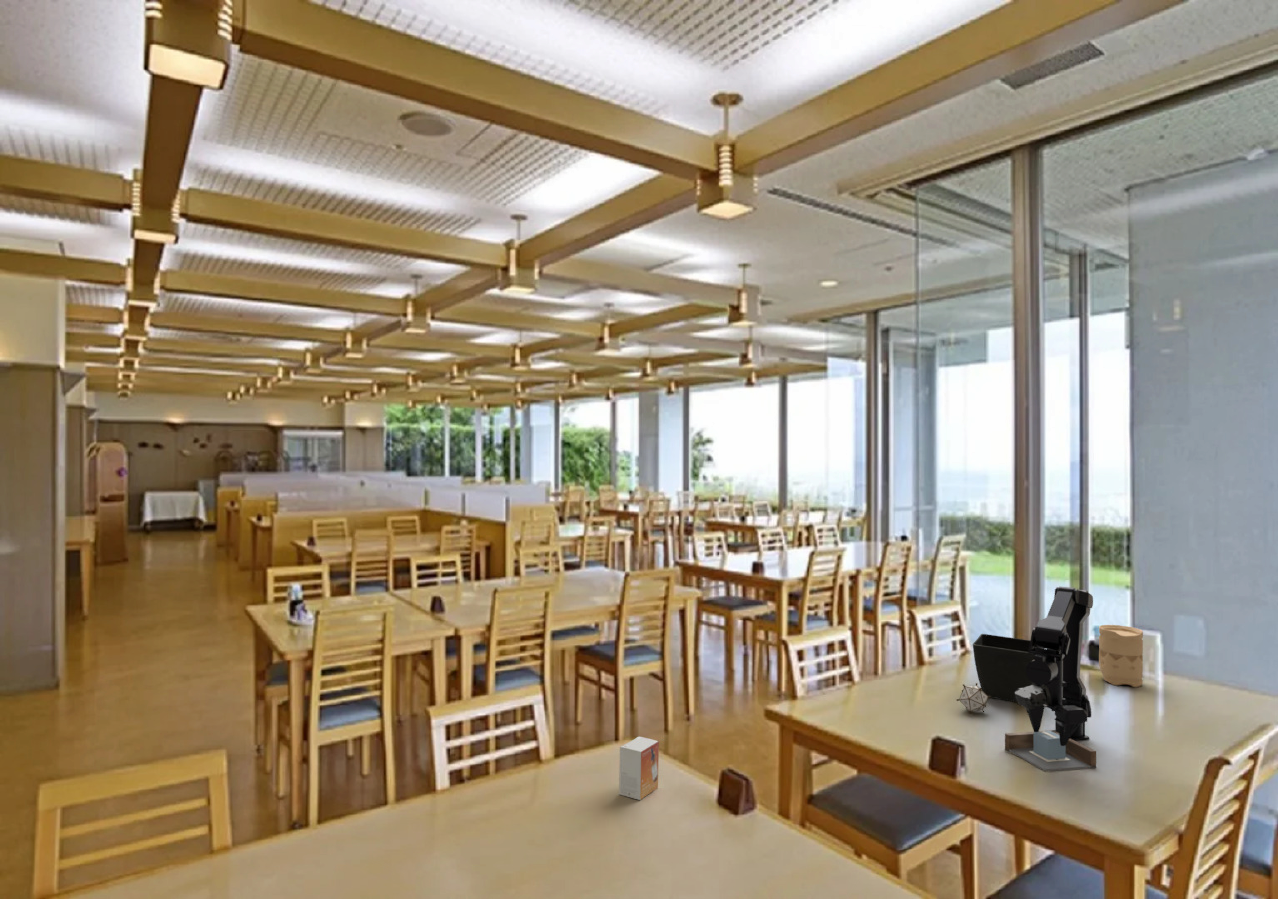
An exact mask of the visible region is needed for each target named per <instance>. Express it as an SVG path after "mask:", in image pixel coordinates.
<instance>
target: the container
mask: <svg viewBox="0 0 1278 899" xmlns="http://www.w3.org/2000/svg"><path fill="white" fill-rule="evenodd" d="M1098 633H1099V634H1100V635H1099V636H1098V644H1099V645H1098V646H1099V650H1098V665H1099V670H1100V672H1101V675H1102V678H1103V679H1104V680H1105V681H1106V682H1108V683H1109V684H1111V685H1113V686H1130V687H1132V688H1139V687H1142V685H1143V681H1144V680H1143V678H1144V674H1143V672H1144V671H1143V670H1144V663H1143V661H1144V659H1143V658H1144V655H1143V654H1144V653H1143V652H1144V647H1143V646H1144V640H1143V637H1144V631H1143V630H1142V629H1140V628H1138V627H1132V626H1126V625H1125V626H1124V625H1121V624H1120V625H1119V624H1102V625H1099V627H1098Z"/></svg>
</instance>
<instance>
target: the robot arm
mask: <svg viewBox="0 0 1278 899" xmlns="http://www.w3.org/2000/svg"><path fill="white" fill-rule="evenodd" d="M1093 606H1094V597H1093V595H1092V594H1091V593H1089V591H1088V590H1083V589H1078V588H1075V587H1069V586H1056V587H1055V589H1054V598H1053V600H1052V603H1051V605H1050V607H1049V611H1048V613H1047V614H1046V617H1044V618H1042V619H1040V620H1038V622H1037V623H1036V625H1035V627H1034V628H1032V631H1031V636H1030V645H1029V650H1028V653H1031V654H1035V657H1034V660H1033V661H1031V662H1030V663H1029V664H1028V665H1027V667H1026V675H1027V677H1028V679H1029V680H1030V681H1031V682H1032V685H1031V686H1027V687H1024V688H1018V689H1017V690H1016V691H1015V699H1016V700H1017V702H1016V703H1017V705H1018V706H1020V707H1021V706H1022V707H1023V708H1024V709H1025V710H1026V713H1027V715H1028V717H1029V721H1030V724H1031V727H1032V730H1033V732H1039V731H1040V729H1041V725H1042V721H1043V715H1044V711H1045V707H1046V708H1048V709H1050V710H1051V712H1054V715H1055V718H1053V720H1054V721H1055V723H1054V724H1055V728H1054V729H1053V730H1054V731H1056V732H1058V733H1059V736H1060V745H1061V746H1065V745H1066V744H1067V742H1068V740H1069V739H1072V740H1074V741H1077V740H1080V741H1081V740H1089V739H1090V736H1089V735H1086V722H1088V718H1092V706H1091V701H1090V700H1089V697H1088V695H1087V687H1086V686H1085V684H1084V683H1083V680H1082V679H1081V677H1080V676H1081V661H1082V642H1083V639H1082V638H1083V623H1084V622H1085V621H1086V620H1087V619H1088V617H1089V616H1090V614H1091V609H1093ZM1035 645H1036V646H1037V647H1039V648H1036V647H1035ZM1042 648H1045V649H1042Z"/></svg>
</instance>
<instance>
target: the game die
mask: <svg viewBox="0 0 1278 899" xmlns="http://www.w3.org/2000/svg"><path fill="white" fill-rule="evenodd" d="M962 687H963V688H962V690H961V693H960V696H959V698H957V699H956V701H957V702H960V703H961V704H963V706H964V707H965V709H967V710H968V711H969V712H968V713H969V715H971V714H972V713H973V712H978V711H981V712H982V713H985V709H984V708H985V707H986V706H987V705H986V704H987V701H988V699H989V698H992V697H991V696H987V695H986V694H985V693H984V692H983V691H982V689H981V687H979V686H978V682H976V683H975V685H965V684H962Z"/></svg>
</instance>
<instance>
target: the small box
mask: <svg viewBox="0 0 1278 899" xmlns="http://www.w3.org/2000/svg"><path fill="white" fill-rule="evenodd" d="M659 747H660V742H659V741H658V740H656V739H652V738H648V737H643V736H637V737H636V738H634V739H632V740H631V741H629V742H626V743H625V744H623V745H621V746H619V772H618V773H619V778H618V780H619V781H618V783H619V784H618V788H619V789H618V791H619V792H618V795H620V796H623V797H628V798H631V799H635V800H638V801H641V800H643V799H644V798H645V797H646V796H648V795H649V794H651V793H652V792H654V791H655V790H657V789H659V761H660V760H659V759H660V758H659V751H660V750H659V749H660V748H659Z"/></svg>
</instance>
